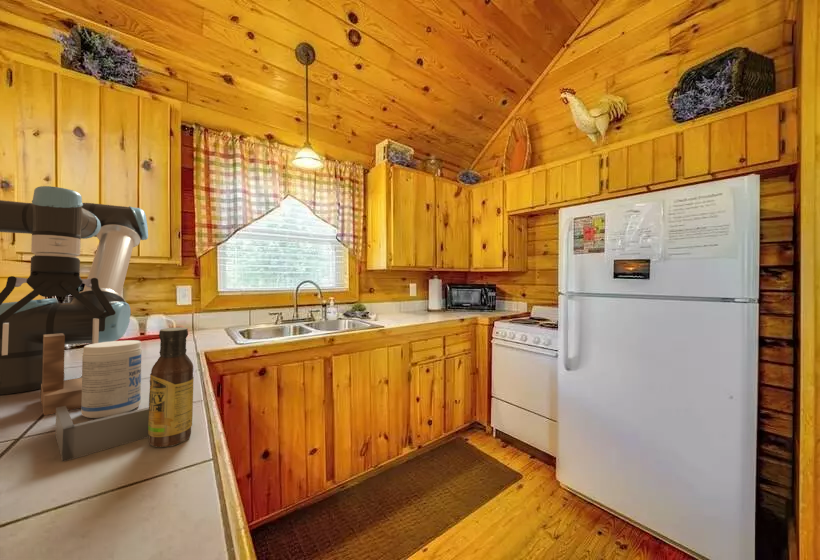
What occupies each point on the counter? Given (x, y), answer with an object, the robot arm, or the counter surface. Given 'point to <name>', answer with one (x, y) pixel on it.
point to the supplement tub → (111, 378)
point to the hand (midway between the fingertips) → (53, 349)
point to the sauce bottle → (171, 391)
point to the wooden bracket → (57, 377)
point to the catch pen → (98, 432)
